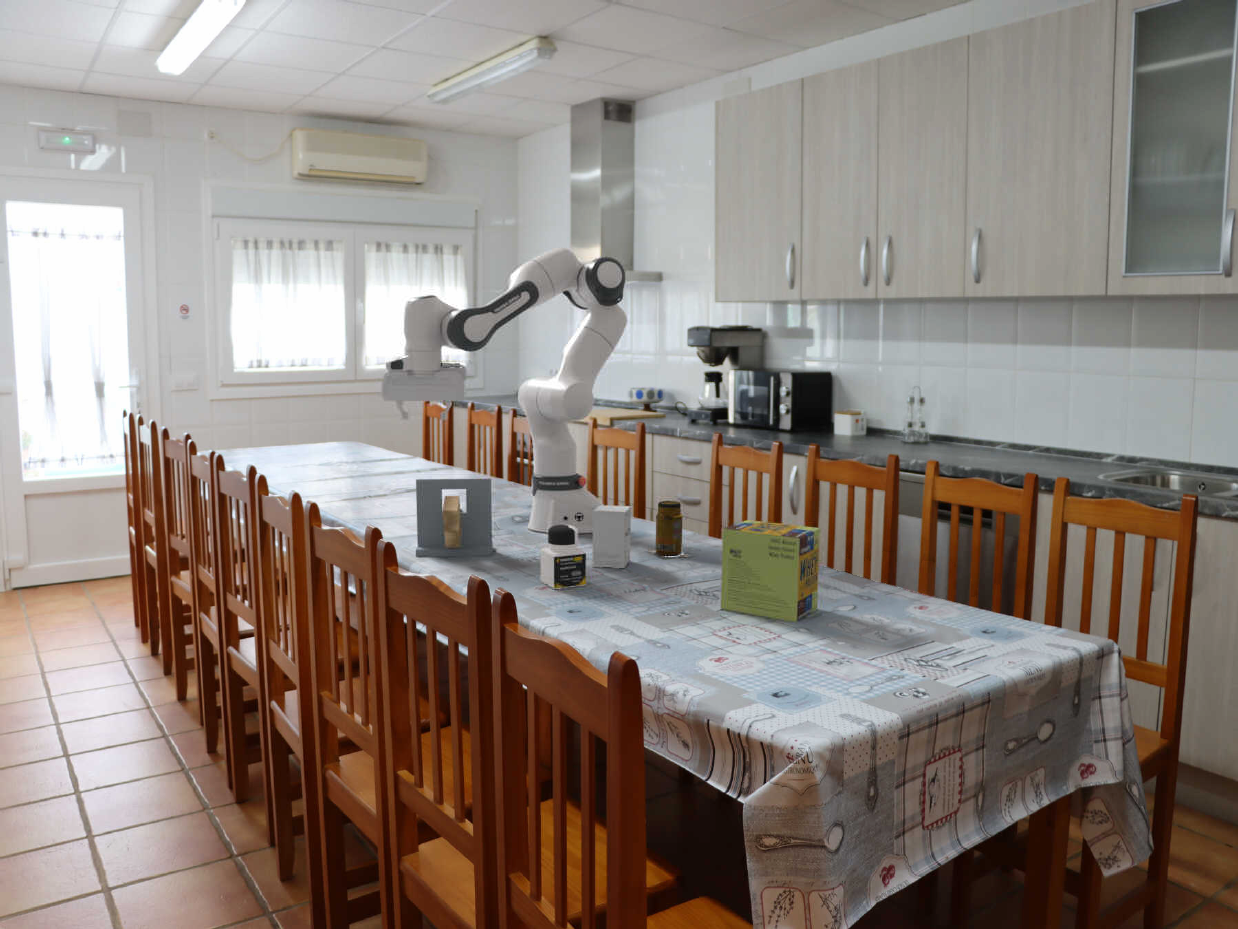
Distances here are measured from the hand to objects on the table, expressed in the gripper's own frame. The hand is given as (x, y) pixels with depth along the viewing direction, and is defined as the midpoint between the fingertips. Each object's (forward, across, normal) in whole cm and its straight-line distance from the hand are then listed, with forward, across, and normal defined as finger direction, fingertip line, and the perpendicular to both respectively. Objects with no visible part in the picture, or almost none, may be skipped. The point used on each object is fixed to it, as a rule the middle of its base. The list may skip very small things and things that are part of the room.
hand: (424, 419), depth 239 cm
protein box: (+29, -71, +68) cm, 103 cm away
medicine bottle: (+29, -33, +48) cm, 65 cm away
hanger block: (+25, -9, +20) cm, 33 cm away
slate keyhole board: (+29, -8, +18) cm, 35 cm away
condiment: (+29, -58, +23) cm, 69 cm away
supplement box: (+29, -44, +32) cm, 62 cm away
